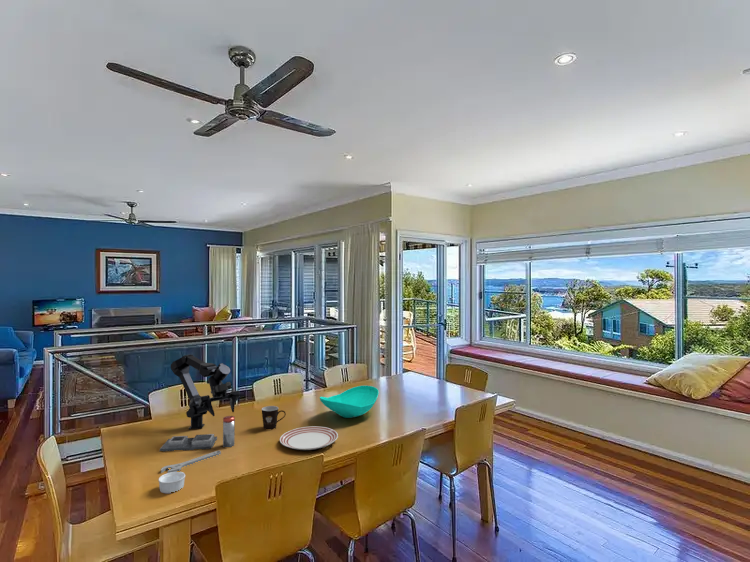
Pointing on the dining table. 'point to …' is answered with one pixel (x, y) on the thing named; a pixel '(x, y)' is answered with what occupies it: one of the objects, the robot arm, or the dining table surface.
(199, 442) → the fitting board
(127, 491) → the dining table surface
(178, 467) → the adjustable wrench
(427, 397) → the dining table surface
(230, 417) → the silver and red cylinder
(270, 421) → the coffee mug
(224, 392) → the robot arm
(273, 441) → the dining table surface
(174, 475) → the ramekin
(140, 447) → the dining table surface
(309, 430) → the dinner plate
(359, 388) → the table top decor
